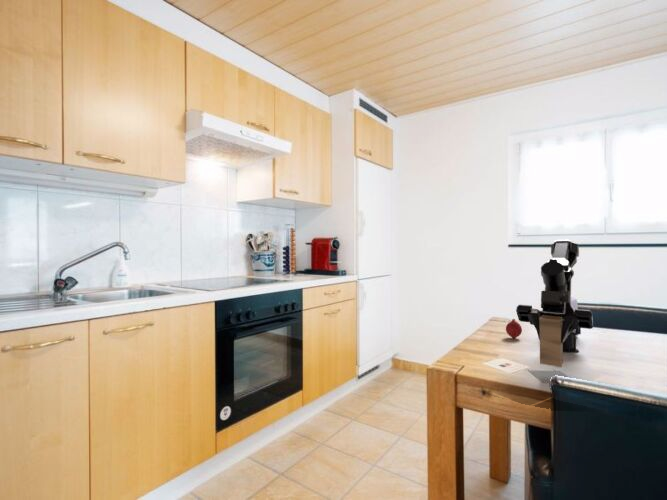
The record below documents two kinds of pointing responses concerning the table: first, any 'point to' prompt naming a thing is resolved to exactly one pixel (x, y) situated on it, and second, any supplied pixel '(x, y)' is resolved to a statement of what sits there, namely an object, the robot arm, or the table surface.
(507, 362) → the tile
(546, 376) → the grey pad
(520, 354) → the table surface
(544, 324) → the walnut post
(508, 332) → the onion
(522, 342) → the table surface
